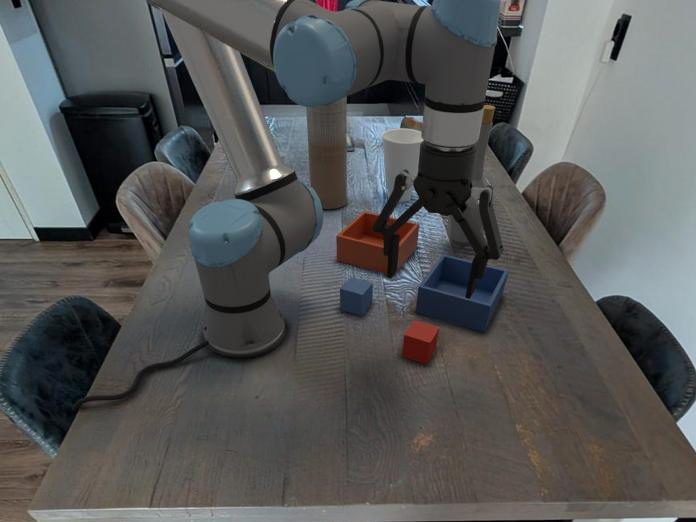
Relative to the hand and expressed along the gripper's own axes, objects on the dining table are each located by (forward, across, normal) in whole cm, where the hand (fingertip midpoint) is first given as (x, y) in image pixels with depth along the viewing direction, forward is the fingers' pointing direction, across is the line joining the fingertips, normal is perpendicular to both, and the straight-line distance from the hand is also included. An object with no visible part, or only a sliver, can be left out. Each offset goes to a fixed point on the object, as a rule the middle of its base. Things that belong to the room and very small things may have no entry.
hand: (429, 284), depth 78 cm
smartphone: (+14, +65, -94) cm, 115 cm away
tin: (+14, +42, -104) cm, 113 cm away
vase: (+14, +46, -50) cm, 70 cm away
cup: (+14, +30, -63) cm, 71 cm away
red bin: (+14, +22, -30) cm, 40 cm away
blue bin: (+15, -2, -19) cm, 24 cm away
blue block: (+14, +17, -8) cm, 24 cm away
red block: (+15, 0, 0) cm, 15 cm away
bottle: (+15, +5, -43) cm, 46 cm away
